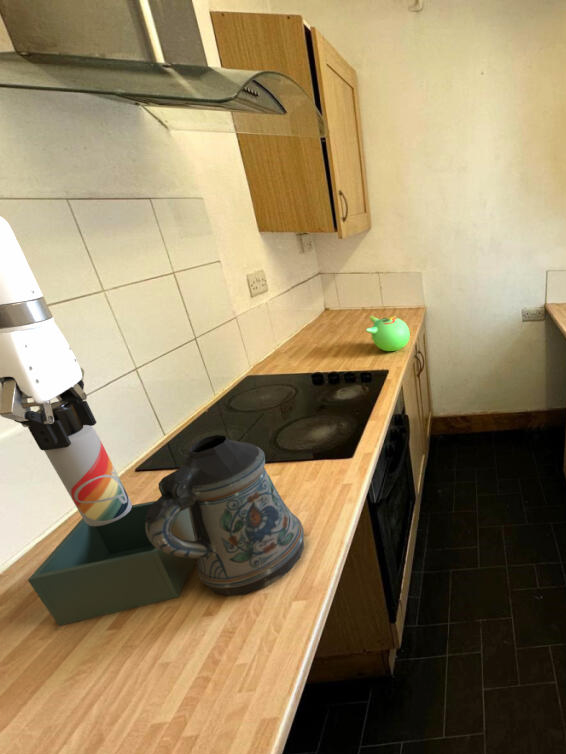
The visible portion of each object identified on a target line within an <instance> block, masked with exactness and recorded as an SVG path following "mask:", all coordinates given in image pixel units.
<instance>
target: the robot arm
mask: <svg viewBox="0 0 566 754" xmlns="http://www.w3.org/2000/svg"><path fill="white" fill-rule="evenodd" d="M84 377H85V370H84V368H82V367H81V366H80V364H79V361H78V360H77V358H76V356H75V354H74V352H73V350H72V348H71V347H70V344H69V343H68V341H67V339H66V337H65V336H64V334H63V333H62V331H61V329H60V328H59V326H58V325H57V324H56V322H55V318H54V315H53V313H52V312H51V310H50V308H49V305H48V303H47V301H46V298H45V297H44V295H43V293H42V290H41V288H40V286H39V284H38V281H37V280H36V278H35V274H34V273H33V271H32V269H31V267H30V265H29V262H28V261H27V259H26V257H25V254H24V251H23V250H22V247H21V246H20V244H19V241H18V239H17V237H16V235H15V233H14V231H13V229H12V227H11V225H10V223H9V222H8V221H7V220H6V219H5V218H4V217H2V216H1V215H0V417H1V418H4V419H7V420H12V421H14V422H15V423H19V424H20V425H21V426H22V427H23V428H28V430H29V432H30V434H31V436H32V438H33V439H34V442H35V443H36V445H37V446H38V448H39V450H40V451H43V452H45V451H44V450H51V449H58V448H65V447H68V446H70V445H71V442H70V440H69V438H68V436H67V434H66V432H65V430H64V428H63V426H62V424H61V422H60V421H59V420H56V421H54V416H53V412H52V407H51V403H52V402H51V401H52V400H54V399H57V401H68V402H71V403H72V404H73V406H74V408H75V410H76V412H77V414H78V416H79V418H80V420H81V422H82V424H83V425H89V426H92V427H94V426H95V425H97V420H96V418H95V416H94V414H93V411H92V409H91V407H90V405H89V403H88V401H87V398H88V395H87V393H86V392H85V391H84V388H85V382H84ZM28 399H33V401H32V402H31V401H30V402H29V401H28ZM34 407H38V408H39V409H40V412H41V414H40V413H37V412H36V411H35V410H32V408H34Z"/></svg>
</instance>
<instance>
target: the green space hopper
mask: <svg viewBox="0 0 566 754" xmlns="http://www.w3.org/2000/svg"><path fill="white" fill-rule="evenodd" d="M369 319H370V321H371V322H372V323H373V326H372V327H368V328H366V329H365V332H366V333H368V334H371V335H370V336H371V339H372V341H373V343H374V345H375V346H376V347H377V348H378V349H380V350H382V351H384V352H385V351H386V352H395V351H399V350H401V349H403V348H404V347H406V346H407V344H408V343H409V341H410V339H411V338H410V336H411V333H410V329H409V326H408V324H407V323H406V322H405V321H404V320H403V319H401V318H399V317H397V316H396V315H394V316H390V317H389V316H388V317H387V316H386V317H382V318H381V319H380V318H377V317H375V316H373V315H369Z"/></svg>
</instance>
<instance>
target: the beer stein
mask: <svg viewBox="0 0 566 754" xmlns="http://www.w3.org/2000/svg"><path fill="white" fill-rule="evenodd" d="M265 466H266V455H265V452H264V450H262V448H260V447H259V446H256V445H255V444H252V443H250V442H245V441H244V442H243V441H237V440H232V439H229V438H228V437H227V436H226V435H219V434H216V435H211V436H207V437H204V438H202V439H200V440H198V441H195V443H194V444H192V445H191V447H190V448H189V452H188V456H187V457H186V459H185V460H184V462H183V463H182V464H181V465H180V467H179V468H177V469H176V470H174V471H173V472H171V473H169V474H167V475H165V476H163V477H162V479H160V481H159V482H158V490H159V492H160V496H159V498H158V499H157V500H154V501H155V502H154V503H153V504H152V506H151V507H150V508H149V509H148V511H147V513H146V518H145V521H146V523H145V528H146V535H147V537H148V539H149V541H150V542H151V543H152V544H153V545H154V546H155V547H156V548H157V549H159V550H161V551H162V552H165V553H168V554H171V555H174V556H178V557H185V558H197V559H196V561H195V563H196V564H195V571H196V574H197V576H198V578H199V580H200V581H201V582H202V583H203V584H204V585H205V586H206V587H207V588H208V589H209V590H210V591H211V592H213V593H214V594H217V595H221V596H224V597H225V596H226V597H234V596H243V595H248V594H251V593H254V592H256V591H260V590H262V589H265V588H268V587H269V586H271V585H272V584H274V583H275V582H278V580H280V579H281V578H283V577H285V575H286V574H287V573H289V572H290V571H291V570H292V569H293V568H294V566H295V565H296V564H297V562H299V560H300V559H301V556H302V554H303V551H304V549H305V541H304V536H305V535H304V534H305V532H304V525H303V524H302V522H301V520H300V519H299V518H298V517H297V515H295V514H294V513H293V512H292V511H291V509H289V507H288V506H287V504H286V503H285V502H284V500H283V499H282V497H281V495H280V493H279V491H278V490H277V487H276V486H275V484H274V482H273V480H272V479H271V477H270V475H269V473H268V471H266V468H265ZM187 508H188V509H189V514H190V519H191V524H192V528H193V532H194V536H195V540H196V541H189V540H182V539H180V538H178V537H176V536H174V535H173V534H172V533H171V524H172V521H173V519H174V517H175V516H176V515H177V513H178V512H180V511H183V510H185V509H187Z"/></svg>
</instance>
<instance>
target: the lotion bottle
mask: <svg viewBox="0 0 566 754" xmlns="http://www.w3.org/2000/svg"><path fill="white" fill-rule="evenodd" d="M51 407H52V412H53V416H54V421H56V420H59V421H60V422H61V424H62V426H63V428H64V430H65V432H66V434H67V436H68V438H69V440H70V442H71V445H70V446H68V447H65V448H58V449H51V450H44V451H43V452H44V453H45V455H46V456H47V458H48V460H49V462H50V463H51V465H52V467H53V469H54V471H55V473H56V474H57V476H58V478H59V479H60V481H61V483H62V484H63V486H64V488H65V490H66V491H67V493H68V495H69V497H70V499H71V500H72V502H73V504H74V506H75V507H76V509H77V511H78V512H79V514H80V516H81V517H82V518H83V519H84V521H85V522H86V523H87V524H88V525H90V526H102V525H106V524H109V523H112V522H114V521H116V520H118V519H120V518H122V517H123V516H125V515H126V514H127V513H128V512H129V511H130V510H131V508H132V505H133V504H132V500H131V499H130V497H129V495H128V493H127V491H126V488H125V487H124V485H123V483H122V480H121V479H120V477H119V474H118V473H117V470H116V468H115V467H114V464H113V462H112V460H111V458H110V456H109V454H108V453H107V451H106V448H105V446H104V445H103V442H102V440H101V439H100V436H99V434H98V433H97V431H96V429H95V427H94V426H89V425H83V424H82V422H81V420H80V418H79V416H78V414H77V412H76V410H75V408H74V406H73V404H72V403H71V402H68V401H59V400H57V401H54V402H51ZM35 412H37V413H40V414H41V412H40V408H39V409H38V410H36V411H35Z"/></svg>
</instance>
